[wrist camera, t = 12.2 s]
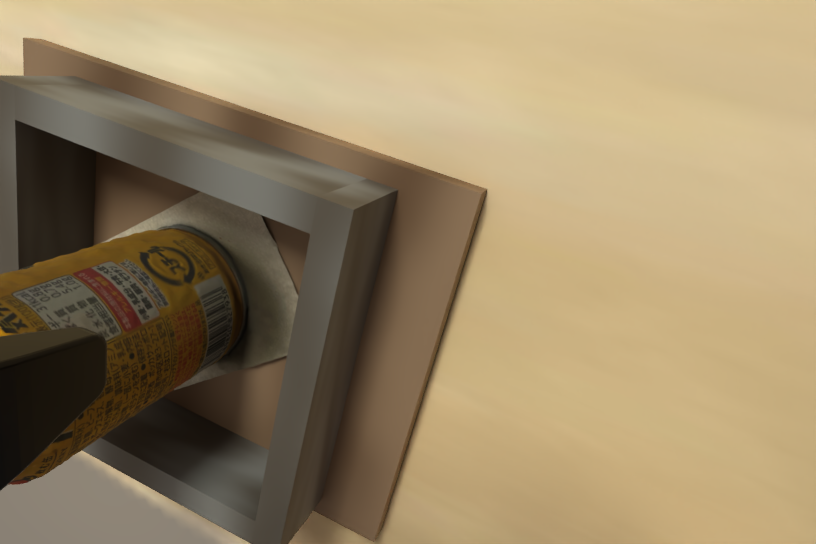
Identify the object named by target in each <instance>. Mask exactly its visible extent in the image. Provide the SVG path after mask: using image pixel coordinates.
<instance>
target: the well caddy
mask: <svg viewBox="0 0 816 544" xmlns="http://www.w3.org/2000/svg"><path fill="white" fill-rule="evenodd" d="M23 57H24V76H0V274H3V273H7V272H11V271H17V270H19V269H21V268H24V267H27V266H32V265H33V264H34V263H37V262H43V261H46V260H50V259H53V258H55V257H58V256H61V255H67V254H71V253H75V252H77V251H79V250H81V249H84V248H89V247H92V246H94V245H97V244H99V243H102V242H104V241H106V240H108V239H110V238H112V237H114V236H116V235H118V234H120V233H122V232H124V231H126V230H128V229H130V228H132V227H134V226H136V225H137V224H139V223H141V222H143V221H145V220H147V219H149V218H151V217H153V216H155V215H157V214H159V213H161V212H163V211H165V210H166V209H168V208H170V207H172V206H174V205H176V204H178V203H180V202H181V201H183V200H185V199H187V198H189V197H191V196H193V195H196V194H197V193H199V192H200V191H201V192H203V193H206V194H208V195H211V196H214V197H216V198H219V199H221V200H224V201H227V202H229V203H232V204H234V205H237V206H239V207H242V208H245V209H247V210H250V211H252V212H255V213H258V214H260V215H261V216H262V218H263V221H264V223H265V225H266V227H267V229H268V231H269V233H270V235H271V236H272V238H273V240H274V241H275V242H276V243H277V246H278V247H277V248H278V252H279V254H280V256H281V258H282V260H283V263H284V265H285V267H286V269H287V271H288V273H289V275H290V277H291V279H292V282H293V284H294V287H295V290H296V293H297V295H298V301H297V307H296V312H295V317H294V322H293V327H292V333H291V338H290V343H289V348H288V354H287V356H284V357H281V358H277V359H274V360H272V361H268V362H264V363H261V364H258V365H256V366H253V367H248V368H245V369H241V370H238V371H234V372H231V373H228V374H224V375H221V376H217V377H214V378H212V379H209V380H205V381H202V382H198V383H195V384H192V385H189V386H186V387H183V388H180V389H177V390H172V391H171V392H169V393H167V394H166V395H165V396H163V397H162V398H160V399H158V400H157V401H156V402H154V403H152V404H150V405H149V406H147V407H146V408H144V409H143V410H141V411H140V412H139V413H137V414H136V415H135V416H134V417H131V418H129V419H127V420H126V421H124V422H123V423H121V424H120V425H119V426H117V427H116V428H114V429H112V430H111V431H109V432H108V433H107V434H105V435H104V436H103V437H100V438H99V439H97V440H96V441H95V442H93V443H92V444H90V445H89V446H87V447H86V448H84V449H83V451H84V452H86V453H88V454H90V455H92V456H93V457H95V458H97V459H99V460H101V461H102V462H104V463H106V464H108V465H110V466H111V467H113V468H115V469H117V470H119V471H121V472H122V473H124V474H126V475H128V476H130V477H131V478H133V479H135V480H137V481H139V482H140V483H142V484H144V485H146V486H148V487H150V488H151V489H153V490H155V491H157V492H159V493H160V494H162V495H164V496H166V497H168V498H169V499H171V500H173V501H175V502H177V503H178V504H180V505H182V506H184V507H186V508H188V509H189V510H191V511H193V512H195V513H197V514H198V515H200V516H202V517H204V518H206V519H207V520H209V521H211V522H213V523H215V524H217V525H218V526H220V527H222V528H224V529H226V530H227V531H229V532H231V533H233V534H235V535H236V536H238V537H240V538H242V539H244V540H245V541H247V542H249V543H251V544H288V543H289V542H290V540H291V539H292V538H293V536H294V535H295V534H296V532H297V531H298V530H299V528H300V527H301V526H302V524H303V523H304V522H305V520H306V519H307V518H308V516H309V515H310V514H311V512H312V511H313V510H314V511H316V512H317V513H319V514H321V515H323V516H325V517H327V518H329V519H331V520H333V521H335V522H337V523H339V524H341V525H342V526H344V527H346V528H348V529H350V530H352V531H354V532H356V533H358V534H360V535H362V536H364V537H366V538H368V539H369V540H371V541H373V542H374V541H375V539H376V538H377V536H378V534H379V532H380V531H381V528H382V525H383V522H384V519H385V516H386V512H387V509H388V506H389V503H390V500H391V496H392V493H393V490H394V487H395V484H396V480H397V477H398V474H399V471H400V468H401V464H402V461H403V458H404V455H405V451H406V448H407V445H408V442H409V439H410V435H411V432H412V429H413V426H414V423H415V419H416V416H417V413H418V410H419V407H420V403H421V400H422V397H423V394H424V390H425V387H426V384H427V381H428V378H429V374H430V371H431V368H432V365H433V362H434V358H435V355H436V352H437V349H438V346H439V342H440V339H441V336H442V333H443V330H444V326H445V323H446V320H447V317H448V313H449V310H450V307H451V304H452V301H453V297H454V294H455V291H456V288H457V285H458V281H459V278H460V275H461V272H462V269H463V265H464V262H465V259H466V256H467V252H468V249H469V246H470V243H471V240H472V236H473V233H474V230H475V227H476V224H477V220H478V217H479V214H480V211H481V208H482V204H483V201H484V198H485V195H486V192H487V189H484V188H481V187H478V186H475V185H472V184H470V183H467V182H464V181H461V180H458V179H455V178H452V177H449V176H446V175H443V174H440V173H437V172H434V171H431V170H428V169H425V168H422V167H419V166H416V165H413V164H410V163H407V162H404V161H401V160H398V159H395V158H392V157H389V156H386V155H383V154H381V153H378V152H375V151H372V150H369V149H366V148H363V147H360V146H357V145H354V144H351V143H348V142H345V141H342V140H339V139H336V138H333V137H330V136H327V135H324V134H321V133H318V132H315V131H312V130H309V129H306V128H303V127H300V126H297V125H294V124H292V123H289V122H286V121H283V120H280V119H277V118H274V117H271V116H268V115H265V114H262V113H259V112H256V111H253V110H250V109H247V108H244V107H241V106H238V105H235V104H232V103H229V102H226V101H223V100H220V99H217V98H214V97H211V96H208V95H205V94H203V93H200V92H197V91H194V90H191V89H188V88H185V87H182V86H179V85H176V84H173V83H170V82H167V81H164V80H161V79H158V78H155V77H152V76H149V75H146V74H143V73H140V72H137V71H134V70H131V69H128V68H125V67H122V66H119V65H116V64H114V63H111V62H108V61H105V60H102V59H99V58H96V57H93V56H90V55H87V54H84V53H81V52H78V51H75V50H72V49H69V48H66V47H63V46H60V45H57V44H54V43H51V42H48V41H45V40H42V39H33V38H23ZM219 238H220V239H221V237H219ZM221 240H222V239H221ZM228 241H229V240H228ZM229 242H230V241H229Z"/></svg>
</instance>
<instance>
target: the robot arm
mask: <svg viewBox="0 0 816 544" xmlns="http://www.w3.org/2000/svg"><path fill="white" fill-rule="evenodd" d="M106 382H107V342H106V340H105V338H104V337H103V336H102V335H100V334H98V333H96V332H93V331H91V330H89V329H86V328H83V327H71V328H63V329H55V330H47V331H39V332H31V333H23V334H15V335H7V336H0V490H2V489H3V488H4V487H5V486H7V485H8V484H9V483H10V482H11V481H12V480H14V479H15V478H16V477H17V476H18V475H19V474H20V473H22V472H23V471H24V470H25V469H26V468H27V467H28V466H29V465H30V464H31V463H32V462H33V461H34V460H35V459H36V458H37V457H38V456H39V455H40V454H41V453H42V452H43V451H44V450H45V449H46V448H47V447H48V446H49V445H51V444H52V443H53V442H54V441H55V440H56V439H57V438H58V437H59V436H60V435H61V434H62V433H63V432H64V431H65V430H66V429H67V428H68V427H69V426H70V425H71V424H72V423H73V422H74V421H75V420H76V419H77V418H78V417H79V416H80V415H81V414H82V413H83V412H84V411H85V410H86V409H87V408H88V407H89V406H90V405H91V404H92V403H93V402H94V401H95V400H96V399H97V398H98V397H99V396H100V394H101V393H102V392H103V390H104V388H105V385H106Z"/></svg>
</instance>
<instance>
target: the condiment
mask: <svg viewBox="0 0 816 544" xmlns="http://www.w3.org/2000/svg"><path fill="white" fill-rule="evenodd" d="M219 237H221V239H222V240H221V239H220V238H219ZM228 240H229V241H230V242H229V241H228ZM277 247H278V246H277V243H276V242H275V241H274V240H273V238H272V236H271V235H270V233H269V231H268V229H267V227H266V225H265V223H264V221H263V218H262V216H261V215H260V214H258V213H255V212H252V211H250V210H247V209H245V208H242V207H239V206H237V205H234V204H232V203H229V202H227V201H224V200H221V199H219V198H216V197H214V196H211V195H208V194H206V193H203V192H201V191H200V192H199V193H197V194H196V195H193V196H191V197H189V198H187V199H185V200H183V201H181V202H180V203H178V204H176V205H174V206H172V207H170V208H168V209H166V210H165V211H163V212H161V213H159V214H157V215H155V216H153V217H151V218H149V219H147V220H145V221H143V222H141V223H139V224H137V225H136V226H134V227H132V228H130V229H128V230H126V231H124V232H122V233H120V234H118V235H116V236H114V237H112V238H110V239H108V240H106V241H104V242H102V243H99V244H97V245H94V246H92V247H89V248H84V249H81V250H79V251H77V252H75V253H71V254H67V255H61V256H58V257H55V258H53V259H50V260H46V261H43V262H37V263H34V264H33V265H32V266H27V267H24V268H21V269H19V270H17V271H11V272H7V273H3V274H0V336H7V335H15V334H23V333H31V332H39V331H47V330H55V329H63V328H71V327H83V328H86V329H89V330H91V331H93V332H96V333H98V334H100V335H102V336H103V337H104V338H105V340H106V342H107V382H106V385H105V388H104V390H103V392H102V393H101V394H100V396H99V397H98V398H97V399H96V400H95V401H94V402H93V403H92V404H91V405H90V406H89V407H88V408H87V409H86V410H85V411H84V412H83V413H82V414H81V415H80V416H79V417H78V418H77V419H76V420H75V421H74V422H73V423H72V424H71V425H70V426H69V427H68V428H67V429H66V430H65V431H64V432H63V433H62V434H61V435H60V436H59V437H58V438H57V439H56V440H55V441H54V442H53V443H52V444H51V445H49V446H48V447H47V448H46V449H45V450H44V451H43V452H42V453H41V454H40V455H39V456H38V457H37V458H36V459H35V460H34V461H33V462H32V463H31V464H30V465H29V466H28V467H27V468H26V469H25V470H24V471H23V472H22V473H20V474H19V475H18V476H17V477H16V478H15V479H14V480H12V481H11V482H10V483H9V484H23V483H27V482H29V481H31V480H33V479H36V478H39V477H42V476H43V475H45V474H47V473H48V472H50V471H51V470H52V469H54V468H55V467H57V466H58V465H61V464H62V463H63V462H64V461H66V460H68V459H69V458H70V457H71V456H73V455H75V454H76V453H78V452H80V451H81V450H83V449H84V448H86V447H87V446H89V445H90V444H92V443H93V442H95V441H96V440H97V439H99V438H100V437H103V436H104V435H105V434H107V433H108V432H109V431H111V430H112V429H114V428H116V427H117V426H119V425H120V424H121V423H123V422H124V421H126V420H127V419H129V418H131V417H134V416H135V415H136V414H137V413H139V412H140V411H141V410H143V409H144V408H146V407H147V406H149V405H150V404H152V403H154V402H156V401H157V400H158V399H160V398H162V397H163V396H165V395H166V394H167V393H169V392H171V391H172V390H177V389H180V388H183V387H186V386H189V385H192V384H195V383H198V382H202V381H205V380H209V379H212V378H214V377H217V376H221V375H224V374H228V373H231V372H234V371H238V370H241V369H245V368H248V367H253V366H256V365H258V364H261V363H264V362H268V361H272V360H274V359H277V358H281V357H284V356H287V354H288V348H289V343H290V338H291V333H292V327H293V322H294V317H295V312H296V307H297V301H298V295H297V293H296V290H295V287H294V284H293V282H292V279H291V277H290V275H289V273H288V271H287V269H286V267H285V265H284V263H283V260H282V258H281V256H280V254H279V252H278V248H277Z"/></svg>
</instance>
